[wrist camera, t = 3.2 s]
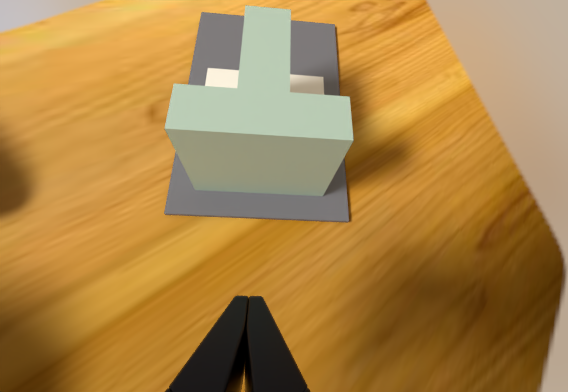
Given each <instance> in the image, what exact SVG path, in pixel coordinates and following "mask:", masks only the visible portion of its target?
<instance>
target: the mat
mask: <svg viewBox="0 0 568 392" xmlns="http://www.w3.org/2000/svg"><path fill="white" fill-rule="evenodd" d="M243 26H244V16H238V15H228V14H217V13H206V12H202V13H201V18H200V23H199V29H198V34H197V40H196V45H195V50H194V56H193V61H192V66H191V72H190V77H189V83H188V85H199V86H213V87H226V88H237V86H238V76H239V66H240V56H241V46H242V36H243ZM290 92H293V93H307V94H320V95H334V96H340V91H339V77H338V64H337V50H336V36H335V24H325V23H314V22H303V21H292V20H291V39H290ZM164 214H165V215H184V216H208V217H232V218H256V219H280V220H304V221H327V222H349V214H348V201H347V187H346V173H345V160H344V159H343V160H342V162H341V164H340V166H339V168H338V170H337V171H336V173H335V175H334V177H333V179H332V180H331V182H330V184H329V186H328V188H327V189H326V191H325V193H324V195H323V196H307V195H287V194H266V193H245V192H225V191H204V190H195V189H194V187H193V185H192V183H191V181H190V179H189V177H188V175H187V173H186V171H185V169H184V167H183V165H182V162H181V160H180V158H179V156H178V154H177V152H176V153H175V158H174V163H173V169H172V174H171V180H170V185H169V190H168V196H167V201H166V207H165V212H164Z"/></svg>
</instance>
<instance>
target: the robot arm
mask: <svg viewBox="0 0 568 392" xmlns="http://www.w3.org/2000/svg"><path fill="white" fill-rule="evenodd" d="M244 369H245V392H310V390H309V389H308V388H307V384H306V382H305V380H304V378H303V376H302V374H301V372H300V370H299V368H298V366H297V364H296V362H295V360H294V358H293V356H292V354H291V352H290V350H289V348H288V346H287V344H286V342H285V340H284V338H283V336H282V334H281V332H280V330H279V328H278V327H277V325H276V323H275V321H274V319H273V317H272V315H271V313H270V311H269V309H268V307H267V305H266V303H265V301H264V299H263V297H261V296H250V297H249V298H248V296H235V297H234V298H233V300H232V301H231V302H230V304H229V305H228V307H227V308H226V309H225V311H224V312H223V313H222V315H221V316H220V317H219V319H218V320H217V322H216V323H215V324H214V326H213V327H212V328H211V330H210V331H209V332H208V334H207V335H206V337H205V338H204V339H203V341H202V342H201V343H200V345H199V346H198V348H197V349H196V350H195V352H194V353H193V354H192V356H191V357H190V358H189V360H188V361H187V363H186V364H185V365H184V367H183V368H182V369H181V371H180V372H179V373H178V375H177V376H176V378H175V379H174V380H173V382H172V383H171V384H170V386H169V388H168V389H167V390H166V391H165V392H241V389H242V384H243V377H244Z"/></svg>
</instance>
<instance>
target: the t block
mask: <svg viewBox="0 0 568 392" xmlns="http://www.w3.org/2000/svg"><path fill="white" fill-rule="evenodd" d="M290 39H291V10H288V9H278V8H267V7H257V6H245V16H244V26H243V36H242V46H241V56H240V66H239V76H238V86H237V88H226V87H213V86H199V85H186V84H174V86H173V91H172V95H171V100H170V105H169V110H168V114H167V119H166V124H165V130H166V132H167V134H168V136H169V138H170V140H171V142H172V144H173V146H174V148H175V150H176V152H177V154H178V156H179V158H180V160H181V162H182V165H183V167H184V169H185V171H186V173H187V175H188V177H189V179H190V181H191V183H192V185H193V187H194V189H195V190H204V191H225V192H245V193H266V194H287V195H307V196H323V195H324V193H325V191H326V189H327V188H328V186H329V184H330V182H331V180H332V179H333V177H334V175H335V173H336V171H337V170H338V168H339V166H340V164H341V162H342V160H343V159H344V157H345V155H346V153H347V151H348V150H349V148H350V146H351V144H352V142H353V141H354V140H353V128H352V117H351V106H350V97H347V96H334V95H320V94H307V93H293V92H290Z"/></svg>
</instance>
